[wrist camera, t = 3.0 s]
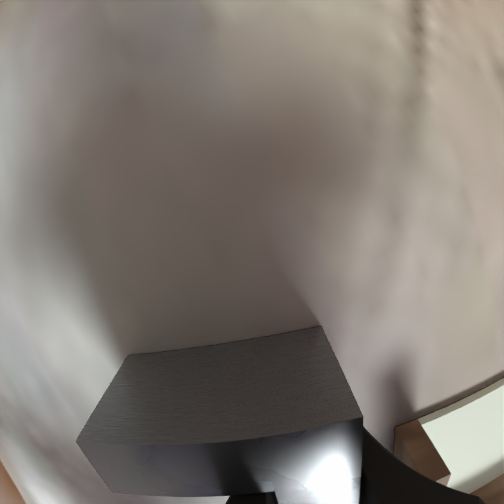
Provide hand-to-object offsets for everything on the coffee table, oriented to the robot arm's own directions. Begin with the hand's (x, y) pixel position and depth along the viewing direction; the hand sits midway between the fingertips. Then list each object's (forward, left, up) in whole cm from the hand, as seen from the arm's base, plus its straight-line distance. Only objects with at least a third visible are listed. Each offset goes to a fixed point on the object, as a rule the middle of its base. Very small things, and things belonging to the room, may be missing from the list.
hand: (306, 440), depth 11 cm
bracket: (-2, -1, -1) cm, 3 cm away
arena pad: (+13, -8, -1) cm, 15 cm away
